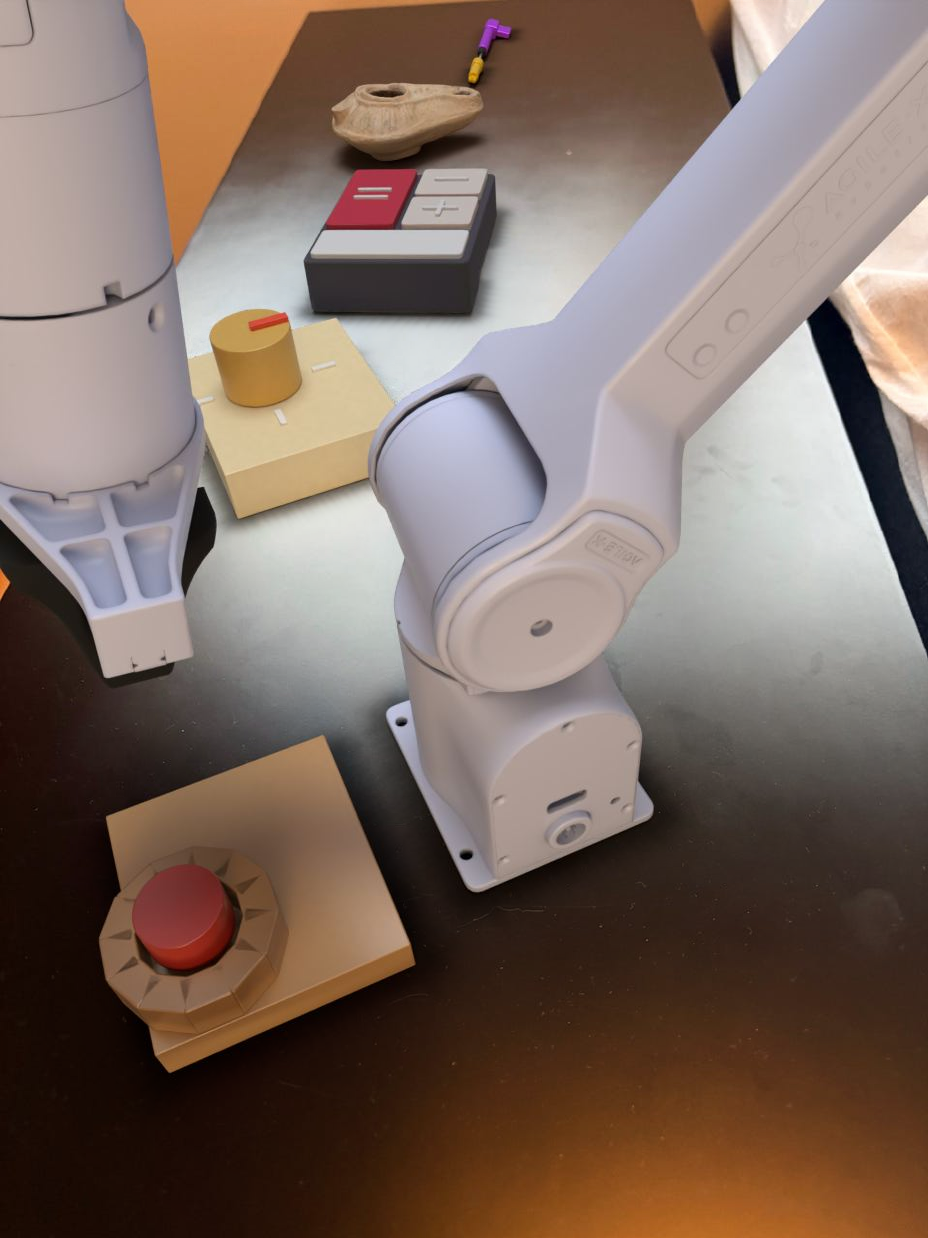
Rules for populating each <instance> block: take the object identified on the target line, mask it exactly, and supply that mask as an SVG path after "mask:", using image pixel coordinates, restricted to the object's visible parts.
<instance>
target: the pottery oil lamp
mask: <svg viewBox="0 0 928 1238" xmlns="http://www.w3.org/2000/svg"><path fill="white" fill-rule="evenodd" d="M483 109H484V102H483V99H482V95H481V93H480V92H479V91H478V90H476V89H474V88H472V87H467V86H458V85H446V84H434V83H433V84H429V83H427V84H425V83H423V84H419V83H406V82H400V83H398V82H392V83H372V84H368V83H367V84H362V85H358V86H357V87H356V88H355V90H354V91H352V92H351V93H350V94H349V95H347V97H345V99H343V100H341V101H340V102H338V103H337V104H335V105H334V106H333V107H331V113H332V119H331V127H332V131H333V134H334V135H335V136H336V137H338V138H339V139H340V140H342V141H343V142H346V143H347V144H349V145H351V146H352V147H354V148H355V149H357V150H359V151H360V152H363V153H365V154H367V155H370V156H371V157H372V158H373V159H375V160H378V161H380V162H392V161H397V160H401V159H405V158H409V157H412V156H413V155H416V154H418V153H419V152H420V151H421V148H422V146H423V145H425V144H429V143H431V142H435V141H437V140H440V139H442V138H443V137H445V136H448V135H450V134H453V133H457V132H458V131H460V130H463V129H464V128H467V127H468V126H470V125H471V124H473V122H474V121H476V119H477V118H478V117H479V115H480V114H481V113H482V111H483Z"/></svg>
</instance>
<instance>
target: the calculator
mask: <svg viewBox="0 0 928 1238" xmlns="http://www.w3.org/2000/svg"><path fill="white" fill-rule="evenodd" d="M488 172H489V171H488V169H487V168H427V169H425V170H424V171H423V173H422V174H418V170H417V169H416V168H402V169H399V168H397V169H357V170H355V171H354V173H353V174H352V177H350V179H349V181H348V183H347V185H346V186H345V188H344V189H343V191H342V192H341V195H340V196H339V198H338V200H337V201H336V203H335V204H334V206H333V209H332V210H331V212H330V213H329V216H327V218H326V221H325V222H324V223H323V226H322V227H321V229H320V231H319V233H318V234H317V236H316V238H315V239H314V241H313V243H312V245H311V246H310V248H309V250H308V252H307V253H306V255H305V257H304V259H303V267H304V273H305V278H306V284H307V290H308V295H309V301H310V305H311V309H312V311H313V312H320V313H321V312H322V313H323V312H325V313H326V312H327V313H328V312H329V313H330V312H332V313H333V312H334V313H346V312H347V313H414V314H415V313H417V314H419V313H421V314H422V313H424V314H427V313H429V314H467V313H470V312H471V311H472V310H473V307H474V303H475V299H476V296H477V293H478V289H479V284H480V273H481V269H482V266H483V262H484V258H485V255H486V252H487V248H488V245H489V242H490V238H491V234H492V231H493V227H494V224H495V221H496V217H497V187H496V186H497V185H496V176H495V175H494V174H493V173H488Z"/></svg>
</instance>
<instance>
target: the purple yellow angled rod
mask: <svg viewBox="0 0 928 1238" xmlns="http://www.w3.org/2000/svg"><path fill="white" fill-rule="evenodd" d="M511 31H512V27H510V26H505V25H502V24H500V20H498V19H494V18H488V20H487V21H486V23H485V25H484V28H483V33H482V35H481V39H480V41H479V43H478V47H477V51H476V55H477V57H474V58H473V59H472V61H471V64H470V67H469V68H470V69H469V72H468V75H467V79H468V80H467V82H468V83H473V84H476V83H477V82H478V81H479V77H480V75H481V73H482V72H483V68H484V66H485V65H484V63H485V62H484V60H483V59H484V58H485V57H486V56H487V55H488V52H489V49H490V46H491V43H492V40H496V38H497V37H500V38H504V39H507V40H508V39H510V35H511Z"/></svg>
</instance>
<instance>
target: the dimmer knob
mask: <svg viewBox="0 0 928 1238" xmlns="http://www.w3.org/2000/svg"><path fill="white" fill-rule="evenodd" d="M292 330H293V329H292V326H291V322H290V320H289V316H288V315H287V313H286V311H284V312H279V311H276V310H274V309H267V308H250V309H244V310H240V311H237V312H234V313H232V314H231V313H230V314H229V315H226V316H225V317H223V318H221V319H220V320H218V322H216V323H215V324H214V325H213V326H212V328H211V329H210V332H209V336H208V337H209V338H208V339H209V342H210V346H211V350H212V352H213V353H214V357H215V360H216V363H217V367H218V370H219V374H220V377H221V381H222V384H223V388H224V391H225V394H226V396H227V397H228V398H229V399H230V400H231V401H232V402H234V403H236V404H239V405H243V406H250V407H259V406H267V405H271V404H275V403H278V402H280V401H283V400H285V399H286V398H288V397H290V396H291V395H292V394H294V393H295V392H296V391H297V390H298V388H299V387H300V385H301V381H302V376H301V371H300V367H299V362H298V358H297V353H296V349H295V344H294V339H293V335H292Z"/></svg>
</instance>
